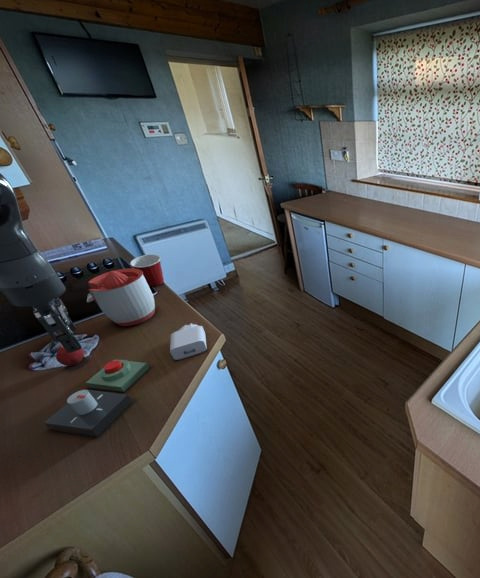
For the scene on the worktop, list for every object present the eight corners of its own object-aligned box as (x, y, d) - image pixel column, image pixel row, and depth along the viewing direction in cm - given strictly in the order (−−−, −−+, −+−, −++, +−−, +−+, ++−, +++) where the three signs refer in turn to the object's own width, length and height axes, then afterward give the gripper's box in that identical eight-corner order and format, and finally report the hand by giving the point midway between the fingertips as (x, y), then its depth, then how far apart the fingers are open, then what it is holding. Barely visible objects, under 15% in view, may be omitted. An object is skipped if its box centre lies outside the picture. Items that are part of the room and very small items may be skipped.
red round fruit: (93, 360, 92) (79, 341, 87) (70, 373, 87) (54, 354, 83) (83, 354, 94) (69, 336, 90) (60, 367, 89) (44, 347, 85)
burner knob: (72, 413, 73) (61, 401, 70) (88, 400, 76) (78, 388, 73) (86, 415, 72) (76, 403, 70) (101, 402, 76) (92, 389, 73)
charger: (205, 325, 107) (207, 350, 96) (175, 333, 103) (174, 360, 92) (200, 315, 104) (203, 339, 94) (170, 323, 100) (169, 349, 90)
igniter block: (89, 387, 83) (81, 378, 81) (117, 364, 91) (111, 355, 88) (124, 392, 82) (117, 382, 80) (149, 368, 89) (144, 358, 87)
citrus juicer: (103, 317, 110) (73, 271, 99) (157, 300, 120) (136, 256, 109) (105, 338, 100) (73, 289, 90) (164, 318, 110) (141, 272, 99)
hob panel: (50, 430, 72) (43, 422, 70) (90, 396, 81) (84, 388, 79) (97, 436, 71) (90, 429, 69) (132, 401, 79) (127, 394, 78)
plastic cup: (143, 292, 125) (131, 267, 119) (140, 282, 132) (127, 259, 125) (173, 283, 131) (162, 260, 125) (167, 275, 138) (157, 251, 132)
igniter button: (103, 373, 83) (100, 368, 82) (114, 363, 86) (112, 359, 85) (114, 374, 83) (111, 370, 82) (125, 365, 86) (123, 360, 85)
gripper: (-4, 270, 57) (46, 333, 66) (-6, 299, 49) (51, 367, 57) (50, 258, 62) (90, 319, 70) (57, 282, 54) (100, 348, 62)
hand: (72, 340), depth 64 cm, fingers open, 8 cm apart
